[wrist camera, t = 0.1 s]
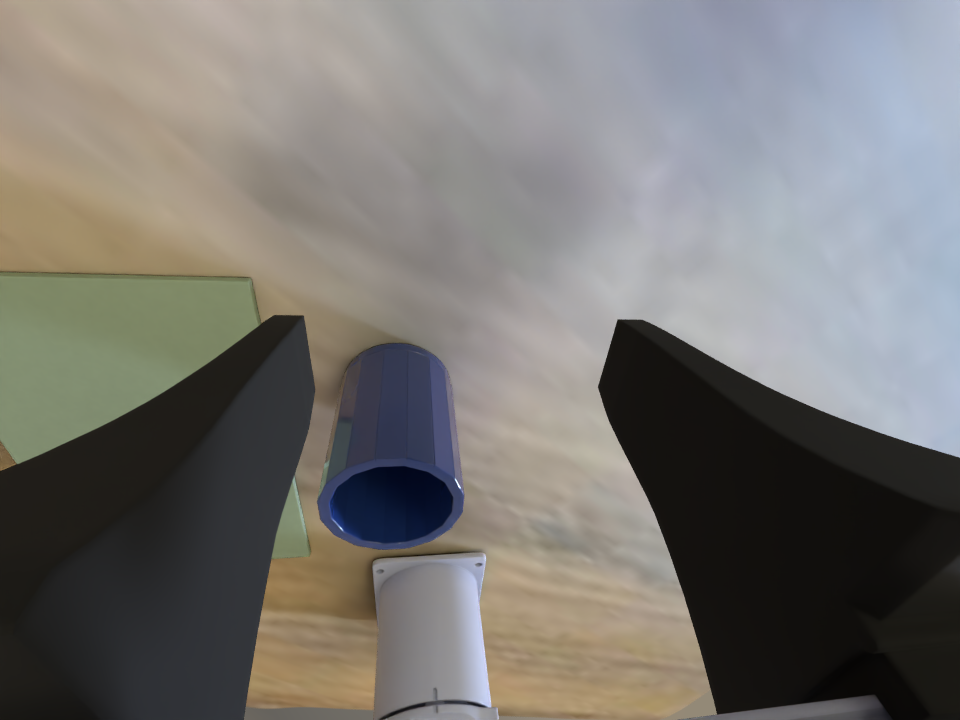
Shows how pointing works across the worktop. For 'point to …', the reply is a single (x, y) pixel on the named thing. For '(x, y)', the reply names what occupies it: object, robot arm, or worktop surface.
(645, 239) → the worktop surface
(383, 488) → the blue cup
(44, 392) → the sage mat
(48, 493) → the robot arm
